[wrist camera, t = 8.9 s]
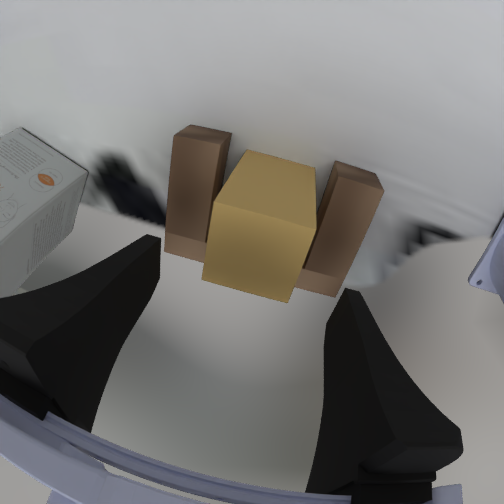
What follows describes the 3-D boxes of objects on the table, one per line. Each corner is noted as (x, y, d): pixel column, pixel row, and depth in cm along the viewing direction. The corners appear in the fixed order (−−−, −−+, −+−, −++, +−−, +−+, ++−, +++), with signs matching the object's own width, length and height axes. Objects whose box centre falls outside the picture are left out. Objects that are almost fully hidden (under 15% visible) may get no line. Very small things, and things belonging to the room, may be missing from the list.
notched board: (375, 173, 17) (384, 190, 15) (333, 273, 21) (335, 297, 19) (190, 124, 17) (173, 135, 15) (178, 231, 22) (164, 251, 20)
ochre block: (314, 168, 18) (316, 229, 12) (295, 225, 20) (287, 303, 14) (246, 149, 18) (214, 201, 12) (234, 209, 20) (201, 279, 14)
